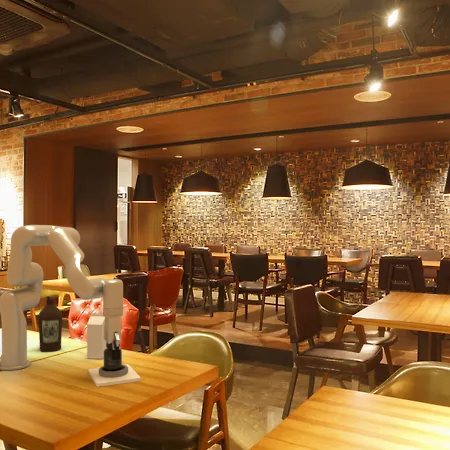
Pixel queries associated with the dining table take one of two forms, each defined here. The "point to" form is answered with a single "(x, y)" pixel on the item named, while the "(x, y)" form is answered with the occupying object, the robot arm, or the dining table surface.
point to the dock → (113, 376)
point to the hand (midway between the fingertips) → (113, 356)
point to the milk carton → (96, 337)
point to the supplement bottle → (108, 362)
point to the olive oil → (50, 327)
